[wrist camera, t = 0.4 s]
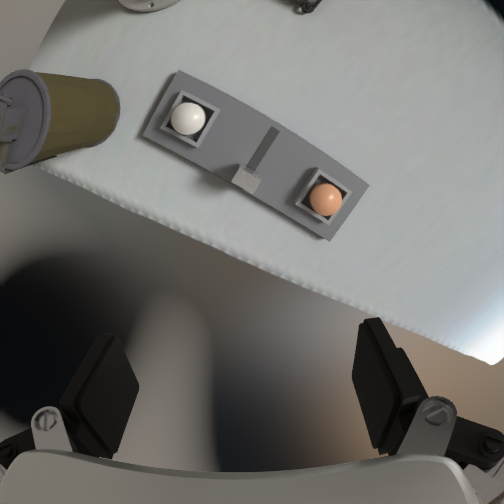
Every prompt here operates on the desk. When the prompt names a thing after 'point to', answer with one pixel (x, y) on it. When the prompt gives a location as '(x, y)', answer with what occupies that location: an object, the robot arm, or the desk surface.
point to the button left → (188, 118)
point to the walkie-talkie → (308, 4)
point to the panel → (255, 153)
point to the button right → (325, 199)
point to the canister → (52, 116)
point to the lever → (246, 178)
